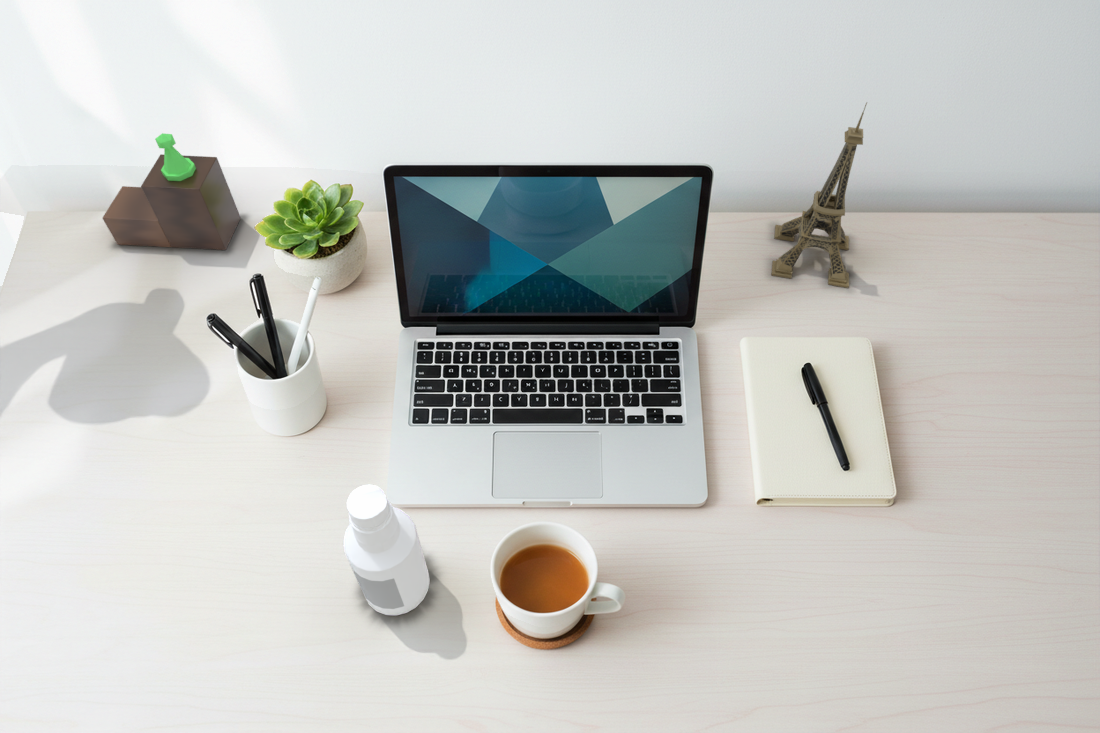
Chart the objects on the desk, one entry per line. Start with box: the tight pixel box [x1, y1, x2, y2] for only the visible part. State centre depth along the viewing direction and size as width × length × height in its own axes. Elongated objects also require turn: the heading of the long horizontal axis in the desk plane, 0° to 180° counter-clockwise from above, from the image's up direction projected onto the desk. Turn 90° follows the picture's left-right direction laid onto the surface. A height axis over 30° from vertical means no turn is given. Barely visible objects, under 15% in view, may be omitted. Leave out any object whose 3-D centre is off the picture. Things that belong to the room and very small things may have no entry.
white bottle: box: [342, 484, 431, 616], centre depth 74 cm, size 7×7×18 cm
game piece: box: [154, 132, 196, 181], centre depth 103 cm, size 4×4×6 cm
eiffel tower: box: [770, 101, 868, 289], centre depth 102 cm, size 11×11×25 cm
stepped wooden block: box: [102, 154, 242, 251], centre depth 110 cm, size 16×7×11 cm, turn 86°
